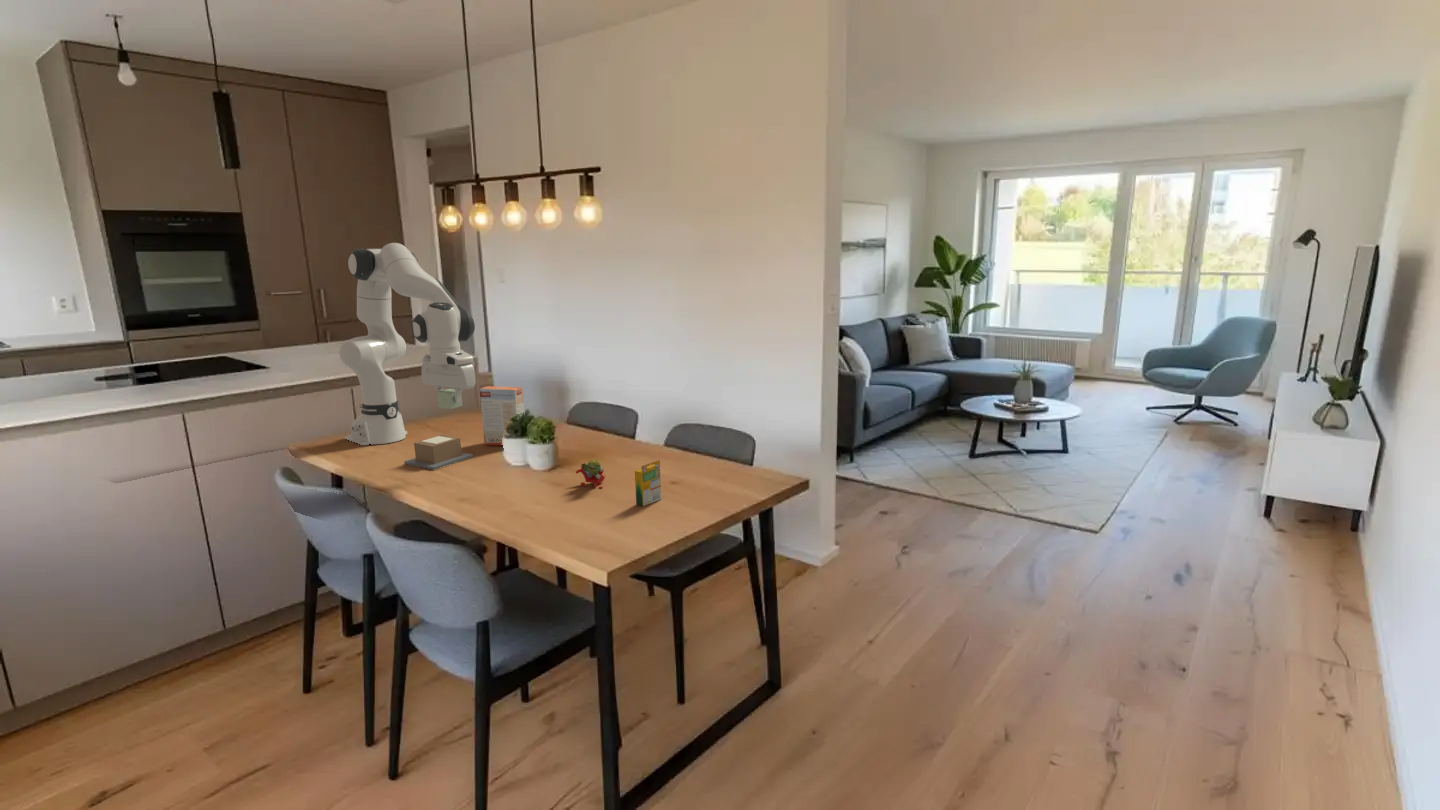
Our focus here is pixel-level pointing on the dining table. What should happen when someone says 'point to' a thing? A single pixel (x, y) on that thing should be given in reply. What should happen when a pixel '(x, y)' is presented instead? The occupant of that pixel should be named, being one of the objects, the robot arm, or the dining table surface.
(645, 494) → the crayon box
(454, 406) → the sage cube
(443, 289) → the robot arm
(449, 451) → the build base
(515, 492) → the dining table surface
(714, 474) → the dining table surface
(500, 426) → the cracker box
